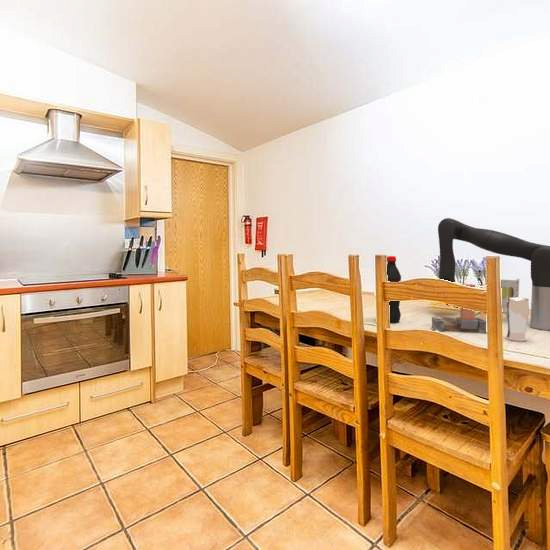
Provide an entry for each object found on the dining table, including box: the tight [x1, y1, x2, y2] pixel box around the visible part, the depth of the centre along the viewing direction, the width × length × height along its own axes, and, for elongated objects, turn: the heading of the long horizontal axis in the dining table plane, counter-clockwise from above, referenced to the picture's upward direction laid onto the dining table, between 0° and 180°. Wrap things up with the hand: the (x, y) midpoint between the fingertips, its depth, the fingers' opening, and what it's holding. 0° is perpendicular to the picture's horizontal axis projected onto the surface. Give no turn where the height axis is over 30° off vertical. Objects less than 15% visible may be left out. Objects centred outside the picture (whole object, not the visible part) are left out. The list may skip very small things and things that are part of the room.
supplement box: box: [500, 277, 520, 314], centre depth 178 cm, size 10×9×17 cm
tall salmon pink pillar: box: [455, 283, 478, 329], centre depth 143 cm, size 6×6×17 cm
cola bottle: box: [386, 255, 402, 324], centre depth 162 cm, size 8×8×30 cm
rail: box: [431, 316, 487, 334], centre depth 144 cm, size 19×7×5 cm, turn 79°
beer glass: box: [505, 296, 530, 342], centre depth 130 cm, size 7×7×15 cm
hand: (469, 304), depth 141 cm, fingers open, 7 cm apart
